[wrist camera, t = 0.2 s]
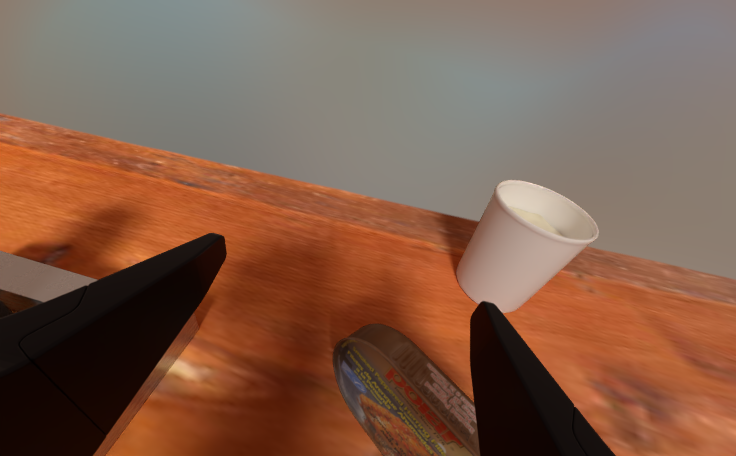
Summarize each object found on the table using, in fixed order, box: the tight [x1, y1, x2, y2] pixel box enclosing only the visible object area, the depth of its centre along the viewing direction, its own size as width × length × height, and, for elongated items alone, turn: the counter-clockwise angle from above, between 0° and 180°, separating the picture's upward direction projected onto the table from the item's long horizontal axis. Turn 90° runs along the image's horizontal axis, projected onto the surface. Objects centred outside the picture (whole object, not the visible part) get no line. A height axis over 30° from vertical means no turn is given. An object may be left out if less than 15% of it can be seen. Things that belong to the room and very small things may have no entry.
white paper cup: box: [456, 180, 599, 313], centre depth 32 cm, size 10×10×12 cm
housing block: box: [0, 251, 199, 456], centre depth 18 cm, size 12×18×3 cm, turn 79°
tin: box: [333, 324, 480, 456], centre depth 18 cm, size 15×3×8 cm, turn 43°
